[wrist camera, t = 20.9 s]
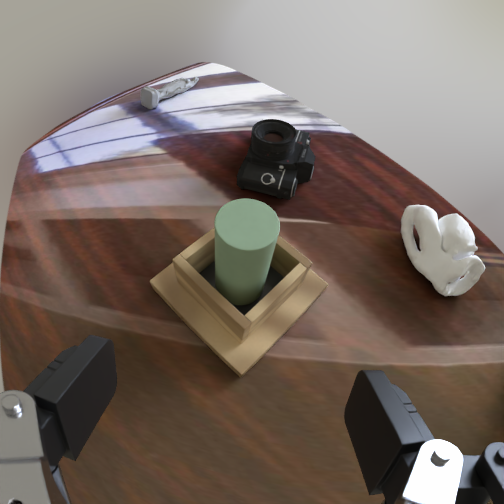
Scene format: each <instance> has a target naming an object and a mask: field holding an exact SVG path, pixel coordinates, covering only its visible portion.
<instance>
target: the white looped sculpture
mask: <svg viewBox="0 0 504 504" xmlns="http://www.w3.org/2000/svg"><path fill="white" fill-rule="evenodd" d="M401 224H402V226H401V234H402V238H403V241H404V245H405V247H406V250H407V255H408V256H409V258H410V260H411V262H412V264H413V265H414V267H415V268H416V269H417V270H418V271H419V272H420V273H422V274H423V275H424V276H425V277H426V278H427V279H428V280H429V281H431V283H432V284H433V286H434V288H435V290H437V292H439V293H440V294H442V295H444V296H452V295H453V296H458V295H461V294H464V293H465V292H466V291H467V290H469V289H470V288H471V287H472V286H473V285H474V284H475V283H476V282H477V281H478V280H479V277H480V275H481V274H482V273H483V272H484V270H485V265H484V264H483V263H482V261H481V260H480V259H479V257H477V256H471V255H473V254H474V251H476V250H477V246H476V245H475V240H474V239H475V237H474V234H473V231H472V229H471V228H470V226H469V225H468V222H466V221H465V220H464V219H463V218H462V216H459V215H458V214H457V213H456V214H450V215H447V216H444V217H442V218H440V219H439V221H438V217H437V214H436V212H435V211H434V210H433V209H432V208H429V207H428V206H426V205H412V206H408V207H407V208H406V209H405V210H404V213H403V216H402V218H401ZM414 225H415V228H416V230H417V232H418V235H419V238H420V249H421V251H419V250H418V248H417V245H416V242H415V238H414V236H413V227H414ZM466 272H467V274H466ZM465 274H466V275H465ZM463 275H465V277H464V278H462V279H460V277H461V276H463ZM459 279H460V280H459ZM457 280H458V281H457ZM455 281H456V282H455ZM449 282H451V283H450V284H448V283H449Z"/></svg>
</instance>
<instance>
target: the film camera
mask: <svg viewBox="0 0 504 504" xmlns="http://www.w3.org/2000/svg"><path fill="white" fill-rule="evenodd" d="M251 140H252V142H251V145H250V147H249V149H248V153H247V156H246V157H245V159H244V161H243V163H242V165H241V167H240V169H239V172H238V175H237V185H238V186H239V187H240V188H241V189H249V190H253V191H257V192H261V193H265V194H269V195H273V196H277V197H276V198H280V199H282V198H285V199H289V200H290V198H291V197H292V196H294V195H295V191H296V187H297V184H298V183H304V182H308V181H310V180H311V177H312V174H313V170H314V167H313V166H314V161H315V155H314V154H313V152H312V151H311V149H310V146H309V144H310V140H311V138H310V137H309V133H308V132H304V131H299V130H296V129H295V128H294V127H293V126H292V125H290V124H289V123H287V122H284V121H281V120H275V119H268V120H262V121H259V122H257V123H256V124H255V125H254V126H253V128H252V135H251Z"/></svg>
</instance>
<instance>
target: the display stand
mask: <svg viewBox="0 0 504 504" xmlns="http://www.w3.org/2000/svg"><path fill="white" fill-rule="evenodd" d="M311 265H312V262H311V261H310V260H309V259H307V258H306V257H305V256H304V255H302V254H301V253H300V252H299V251H298V250H296V249H295V248H294V247H293V246H291V245H290V244H289V243H288V242H286V241H285V240H284V239H283V238H281V237H280V236H279V235H278V238H277V242H276V245H275V249H274V253H273V256H272V260H271V263H270V267H269V270H268V274H267V277H266V281H265V285H264V288H263V291H262V293H261V295H260V296H259V298H258V299H257V300H255V301H254V302H252V303H250V304H247V305H234V304H231V303H230V302H229V301H228V300H227V299H225V298H224V297H223V296H222V295H221V294H220V293H219V292H218V291H217V289H216V285H215V227H214V228H213V229H212V230H210V231H209V232H208V233H206V234H205V235H204V236H202V237H201V238H200V239H198V240H197V241H196V242H194V243H193V244H192V245H190V246H189V247H188V248H186V249H185V250H184V251H183V252H181V253H180V255H178V256H176V257H175V258H174V259H173V263H172V264H170V265H169V266H168V267H167V268H165V269H164V270H163V271H161V272H160V273H159V274H158V275H156V276H155V277H154V278H153V279H151V280H150V283H151V285H152V288H153V289H154V290H155V291H156V292H157V293H158V295H159V296H160V297H161V298H162V299H163V300H164V301H165V302H166V303H167V304H168V305H169V306H170V308H171V309H172V310H173V311H174V312H175V313H176V314H177V315H178V316H179V317H180V318H181V319H182V320H183V321H184V322H185V323H186V324H187V326H188V327H189V328H190V329H191V330H192V331H193V332H194V333H195V334H196V335H197V336H198V337H199V338H200V339H201V340H202V341H203V342H204V343H205V344H206V345H207V346H208V347H209V348H210V349H211V350H212V351H213V352H214V353H215V354H216V355H217V356H218V357H219V358H220V359H221V360H222V361H224V362H225V363H226V364H227V365H228V366H229V367H230V368H231V369H232V370H233V371H234V372H235V373H236V374H237V375H238V376H239V377H242V376H243V375H244V374H245V373H246V372H247V371H249V370H250V369H251V368H252V367H253V366H254V365H255V364H256V363H257V362H258V361H259V360H260V359H261V358H262V357H263V356H264V355H265V354H266V353H267V351H268V350H269V349H270V348H271V347H272V346H273V345H274V344H275V343H276V342H277V341H278V340H279V339H280V338H281V337H282V336H283V335H284V334H285V333H286V332H287V331H288V330H289V329H290V328H291V327H292V326H293V324H294V323H295V322H296V321H297V320H298V319H299V318H300V317H301V316H302V315H303V314H304V313H305V312H306V310H307V309H308V308H309V307H310V306H311V305H312V304H313V303H314V302H315V301H316V299H317V298H318V297H319V296H320V295H321V294H322V293H323V292H324V290H325V289H326V287H327V286H328V283H326V282H325V281H324V280H323V279H322V278H320V277H319V276H318V275H317V274H316V273H314V272H313V271H312V270H311V269H310V267H311Z"/></svg>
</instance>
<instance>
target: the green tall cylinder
mask: <svg viewBox="0 0 504 504" xmlns="http://www.w3.org/2000/svg"><path fill="white" fill-rule="evenodd" d="M279 231H280V222H279V219H278V217H277V215H276V213H275V212H274V211H273V209H272V208H270V207H269V206H268V205H266V204H265V203H263V202H261V201H258V200H254V199H237V200H233V201H231V202H228V203H227V204H225V205H224V206H223V207H222V208H221V209H220V210H219V211H218V213H217V215H216V217H215V285H216V289H217V291H218V292H219V293H220V294H221V295H222V296H223V297H224V298H225V299H227V300H228V301H229V302H230V303H231V304H234V305H247V304H250V303H252V302H254V301H255V300H257V299H258V298H259V296H260V295H261V293H262V291H263V288H264V285H265V281H266V277H267V274H268V270H269V267H270V263H271V260H272V256H273V253H274V249H275V245H276V242H277V238H278V235H279Z"/></svg>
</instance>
